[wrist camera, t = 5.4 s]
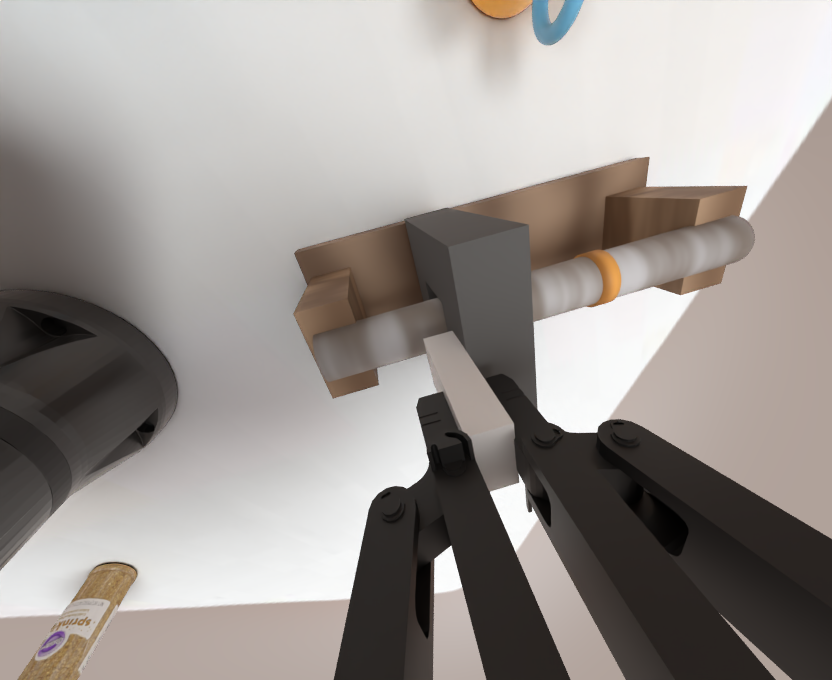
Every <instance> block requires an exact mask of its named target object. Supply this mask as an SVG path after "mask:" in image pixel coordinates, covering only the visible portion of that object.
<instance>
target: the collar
mask: <svg viewBox="0 0 832 680" xmlns="http://www.w3.org/2000/svg"><path fill="white" fill-rule="evenodd" d="M404 220H405V224H406V229H407V233H408V237H409V241H410V246H411V250H412V254H413V259H414V263H415V267H416V272H417V276H418V280H419V284H420V289H421V293H422V297H423V302H424V301H427V300H431V299H434V298H438V299H439V300H440V301H441V303H442V306H443V311H444V316H445V321H446V326H447V331H448V332H449V331H453V332H454V334H455V335H456V337H457V338H458V340H459V341H460V343H461V344H462V346H463V347H464V349H465V350H466V352H467V353H468V355H469V356H470V358H471V359H472V361H473V362H474V364H475V365H476V367H477V368H478V370H479V371H480V373H481V374H482V376H483V377H484V378H488V377H491V376H495V375H498V374H504V375H506V376H508V377H510V378H511V379H513V380H514V382H515V383H516V384H517V385H518V387H519V389H521V390H522V391H523V393H524V394H525V396H527V398H528V399H529V400H530V401H531V403H532V404H533V405H534V406H535V408H536V409H537V392H536V370H535V348H534V326H533V304H532V282H531V260H530V238H529V225H528V224H524V223H519V222H514V221H509V220H504V219H499V218H494V217H489V216H484V215H480V214H475V213H470V212H465V211H460V210H455V209H450V208H444V209H441V210H437V211H433V212H430V213H426V214H422V215H419V216H415V217H411V218H407V219H404Z"/></svg>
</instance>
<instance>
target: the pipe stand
mask: <svg viewBox="0 0 832 680" xmlns="http://www.w3.org/2000/svg"><path fill="white" fill-rule="evenodd" d="M648 165H649V157H644V158H635V159H631V160H627V161H623V162H620V163H616V164H612V165H609V166H605V167H601V168H597V169H594V170H590V171H586V172H583V173H579V174H575V175H572V176H568V177H564V178H561V179H557V180H553V181H549V182H546V183H542V184H538V185H535V186H531V187H527V188H524V189H520V190H516V191H513V192H509V193H505V194H501V195H498V196H494V197H490V198H487V199H483V200H479V201H476V202H472V203H468V204H465V205H461V206H457V207H453V208H450V209H455V210H460V211H465V212H470V213H475V214H480V215H484V216H489V217H494V218H499V219H504V220H509V221H514V222H519V223H524V224H528V225H529V238H530V260H531V282H532V304H533V322H535V321H538V320H542V319H545V318H548V317H552V316H555V315H559V314H562V313H565V312H569V311H572V310H575V309H579V308H582V307H586V306H587V307H594V306H598V305H601V304H605V303H608V302H611V301H613V300H614V299H615V298H616V297H620V296H623V295H626V294H630V293H633V292H637V291H640V290H643V289H647V288H650V287H657V288H660V289H663V290H666V291H669V292H672V293H675V294H678V295H683V294H686V293H689V292H693V291H696V290H700V289H703V288H706V287H709V286H713V285H716V284H719V283H721V281H722V278H723V274H724V270H725V267H726V265H728V264H731V263H735V262H738V261H740V260H741V259H743V258H744V257H746V256H747V255H748V254H749V252H750V251H751V249H752V247H753V245H754V241H755V234H754V230H753V228H752V226H751V225H750V223H749V222H748V221H746V220H745V219H743V218H741V217H739V215H740V211H741V208H742V204H743V200H744V196H745V193H746V189H747V186H690V187H646V181H647V173H648ZM294 254H295V256H296V259H297V261H298V263H299V266H300V268H301V271H302V273H303V275H304V278H305V280H306V282H307V285H308V286H307V288H306V290H305V292H304V294H303V296H302V298H301V300H300V302H299V303H298V305H297V307H296V309H295V311H294V313H293V314H294V316H295V318H296V321H297V323H298V325H299V327H300V329H301V331H302V333H303V336H304V338H305V340H306V342H307V344H308V346H309V348H310V351H311V353H312V355H313V357H314V359H315V361H316V363H317V366H318V368H319V370H320V372H321V374H322V376H323V378H324V381H325V383H326V385H327V387H328V389H329V391H330V393H331V396H332V398H336V397H340V396H343V395H346V394H350V393H353V392H357V391H360V390H363V389H367V388H370V387H373V386H377V385H379V383H378V374H377V368H378V367H382V366H385V365H389V364H392V363H395V362H399V361H402V360H406V359H409V358H412V357H416V356H419V355H423V354H426V353H427V352H426V348H425V344H424V340H423V339H424V338H428V337H431V336H435V335H439V334H442V333H446V332H448V331H447V326H446V321H445V316H444V311H443V306H442V303H441V301H440V300H439V299H438V298H434V299H431V300H427V301H424V302H423V297H422V293H421V289H420V284H419V280H418V276H417V272H416V267H415V263H414V259H413V254H412V250H411V246H410V241H409V237H408V233H407V229H406V224H405V221H402V222H398V223H394V224H391V225H387V226H383V227H380V228H376V229H372V230H368V231H365V232H361V233H357V234H354V235H350V236H346V237H343V238H339V239H335V240H332V241H328V242H324V243H320V244H317V245H313V246H309V247H306V248H302V249H298V250H297V251H296V252H295V253H294Z"/></svg>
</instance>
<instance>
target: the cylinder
mask: <svg viewBox="0 0 832 680" xmlns="http://www.w3.org/2000/svg"><path fill="white" fill-rule="evenodd" d="M471 1H472V2H473V3H474V4H475V6H476V7H477V8H478V9H479V10H481V11H482V12H483V13H485V14H486V15H489V16H492V17H495V18H508V17H512V16H515V15H517V14H519V13H521V12H522V11H524V10H525V9H526V8H527V7H528V6H529V5H530V4H531V3H532V22H533V28H534V32H535V35H536V37H537V39H538V41H539V42H540V43H542V44H543V45H552V44H555V43H556V42H558V41H559V40H560V39H561V38H562V37H563V36H564V35H565V34H566V33H567V32H568V30H569V29H570V27H571V26H572V24H573V22H574V21H575V19H576V17H577V15H578V13H579V11H580V8H581V6H582V4H583V1H584V0H565V2H564V5H563V7H562V9H561V11H560V13H559V15H558V17H557V19H556V20H555V21H554V22H553V23H552V24H551V22H550V20H549V15H548V0H471Z"/></svg>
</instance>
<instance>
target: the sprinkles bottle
mask: <svg viewBox="0 0 832 680" xmlns="http://www.w3.org/2000/svg"><path fill="white" fill-rule="evenodd" d="M136 577H137V573H136V571H135V570H134V569H132V568H131V567H130V566H127V565H123V564H105V565H101V566H98V567H96V568H95V569H93V570H92V571H91V572H90V574H89V575H88V578H87V580H86V581H85V583H84V584H83V586H82V587H81V588H80V590H79V592H78V593H77V594H76V596H75V598H74V599H73V600H72V602H71V603H70V604H69V605H68V606H67V607H66V609H65V610H64V612H63V613H62V615H61V616H60V617H59V619H58V620H57V622H56V623H55V625H54V626H53V628H52V629H51V631H50V632H49V634H48V635H47V636H46V638H45V639H44V641H43V642H42V644H41V646H40V648H39V649H38V651H37V652H36V653H35V655H34V656H33V658H32V659H31V661H30V662H29V664H28V665H27V666H26V668H25V669H24V671H23V672H22V674H21V675H20V676H19V678H18V680H77V679H78V678H79V676H80V675H81V673H82V672H83V670H84V668H85V667H86V665H87V663H88V661H89V659H90V658H91V656H92V654H93V653H94V651H95V649H96V647H97V646H98V644H99V642H100V640H101V638H102V637H103V635H104V633H105V631H106V629H107V628H108V626H109V624H110V623H111V621H112V619H113V617H114V615H115V614H116V612H117V610H118V607H119V605H120V603H121V601H122V600H123V598H124V596H125V595H126V593H127V591H128V590H129V588H130V586H131V584H132V583H133V582H134V581H135V579H136Z"/></svg>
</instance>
